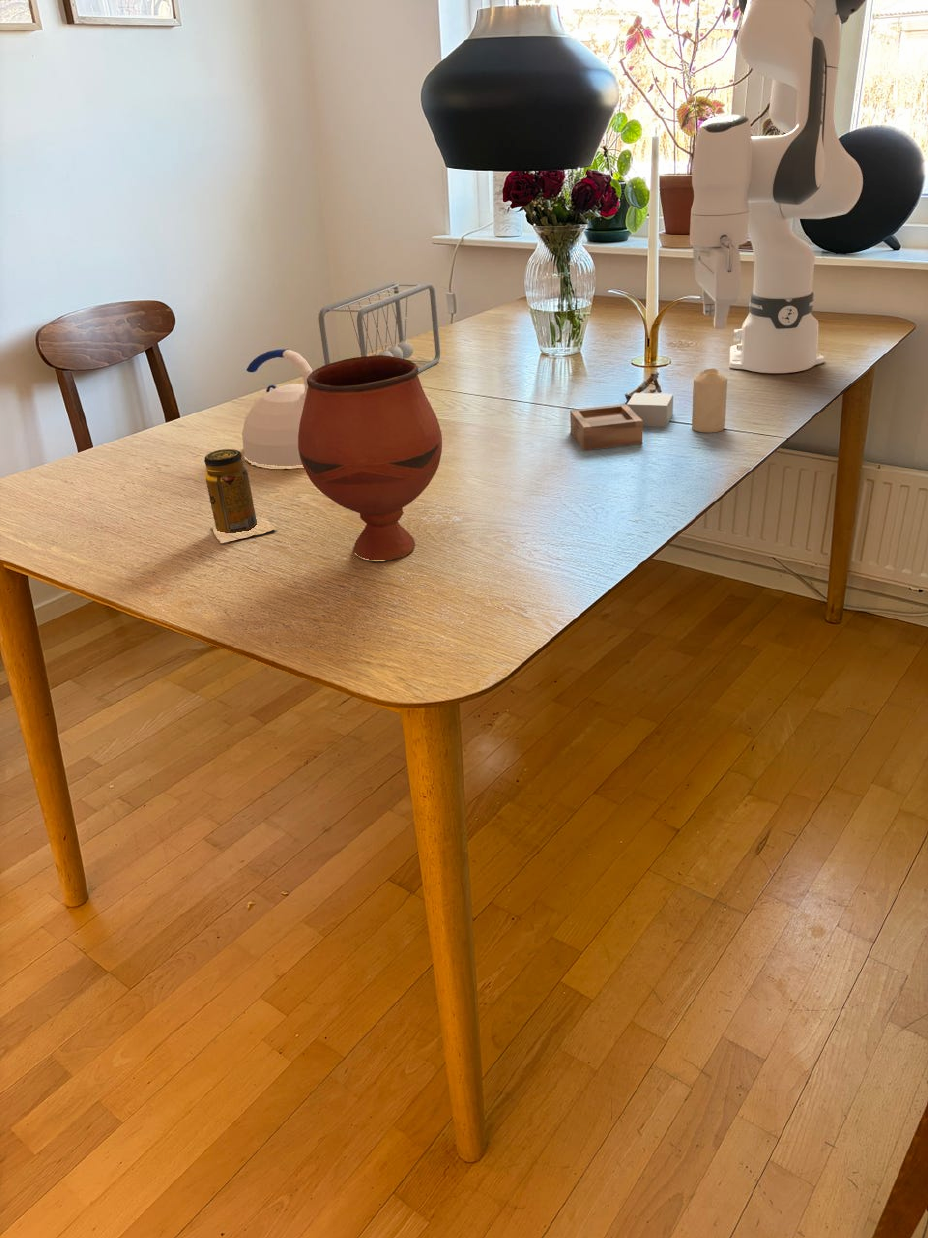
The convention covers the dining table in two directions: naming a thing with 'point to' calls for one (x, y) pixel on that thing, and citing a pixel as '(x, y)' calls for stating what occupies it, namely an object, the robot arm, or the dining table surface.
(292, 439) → the kettle
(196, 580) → the dining table surface
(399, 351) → the newton's cradle
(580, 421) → the square wooden tray
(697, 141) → the robot arm
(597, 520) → the dining table surface
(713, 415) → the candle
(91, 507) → the dining table surface
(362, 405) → the goblet
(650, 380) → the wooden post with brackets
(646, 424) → the grey block
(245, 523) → the condiment
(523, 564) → the dining table surface
